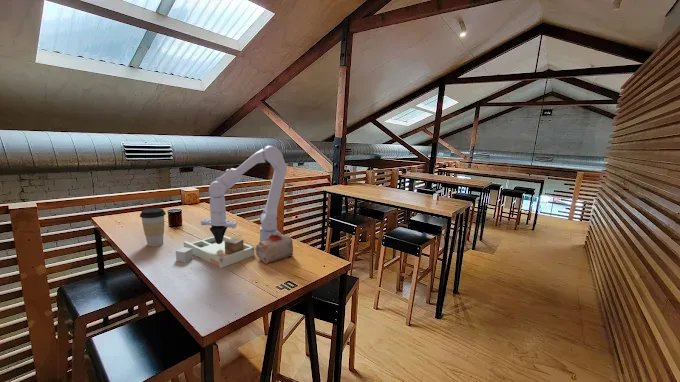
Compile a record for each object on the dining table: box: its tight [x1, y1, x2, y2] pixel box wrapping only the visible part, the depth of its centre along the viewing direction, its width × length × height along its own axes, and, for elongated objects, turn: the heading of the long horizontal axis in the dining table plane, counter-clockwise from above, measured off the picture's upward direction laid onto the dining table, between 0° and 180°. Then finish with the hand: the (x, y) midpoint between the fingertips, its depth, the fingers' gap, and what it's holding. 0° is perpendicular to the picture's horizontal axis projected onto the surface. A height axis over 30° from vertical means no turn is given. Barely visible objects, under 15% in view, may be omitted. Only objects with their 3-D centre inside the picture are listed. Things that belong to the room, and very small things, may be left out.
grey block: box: [175, 246, 194, 263], centre depth 114 cm, size 4×4×4 cm
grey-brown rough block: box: [255, 234, 294, 265], centre depth 118 cm, size 14×8×10 cm, turn 134°
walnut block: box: [225, 237, 244, 255], centre depth 117 cm, size 5×5×5 cm
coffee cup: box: [139, 207, 167, 247], centre depth 126 cm, size 9×9×15 cm
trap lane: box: [183, 235, 255, 269], centre depth 122 cm, size 26×15×4 cm, turn 55°
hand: (219, 243), depth 121 cm, fingers closed
